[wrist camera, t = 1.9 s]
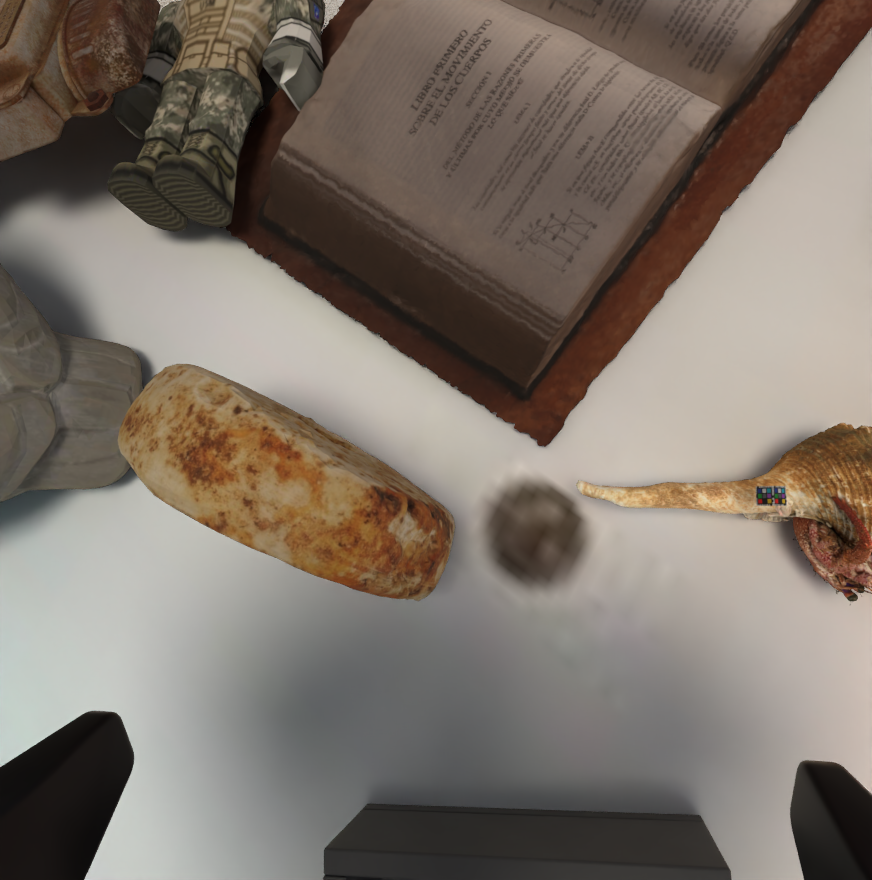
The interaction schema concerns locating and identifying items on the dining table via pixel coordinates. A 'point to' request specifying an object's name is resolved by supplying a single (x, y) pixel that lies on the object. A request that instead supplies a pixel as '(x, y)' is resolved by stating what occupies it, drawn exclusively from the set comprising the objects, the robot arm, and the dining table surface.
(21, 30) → the telephone
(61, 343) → the figurine
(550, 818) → the bin
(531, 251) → the book
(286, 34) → the toy
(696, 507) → the tan seashell
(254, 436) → the tan stone disc
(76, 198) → the dining table surface
